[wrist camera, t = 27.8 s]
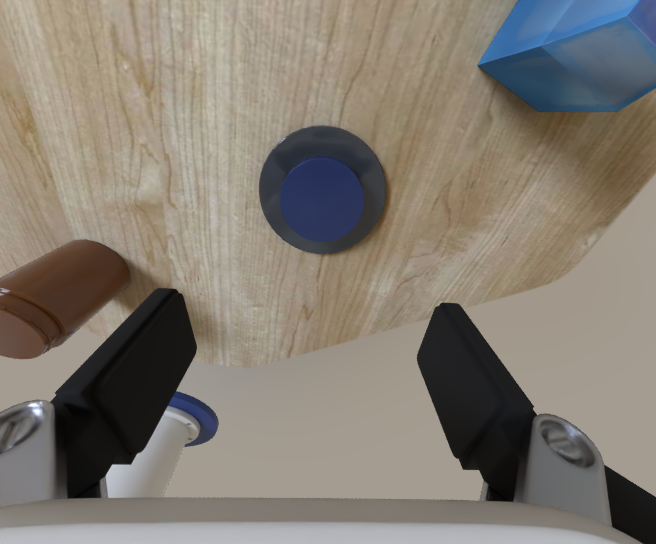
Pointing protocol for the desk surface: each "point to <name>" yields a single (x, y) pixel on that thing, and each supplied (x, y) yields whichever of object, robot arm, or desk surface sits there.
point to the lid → (322, 198)
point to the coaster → (331, 144)
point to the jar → (57, 296)
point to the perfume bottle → (576, 53)
